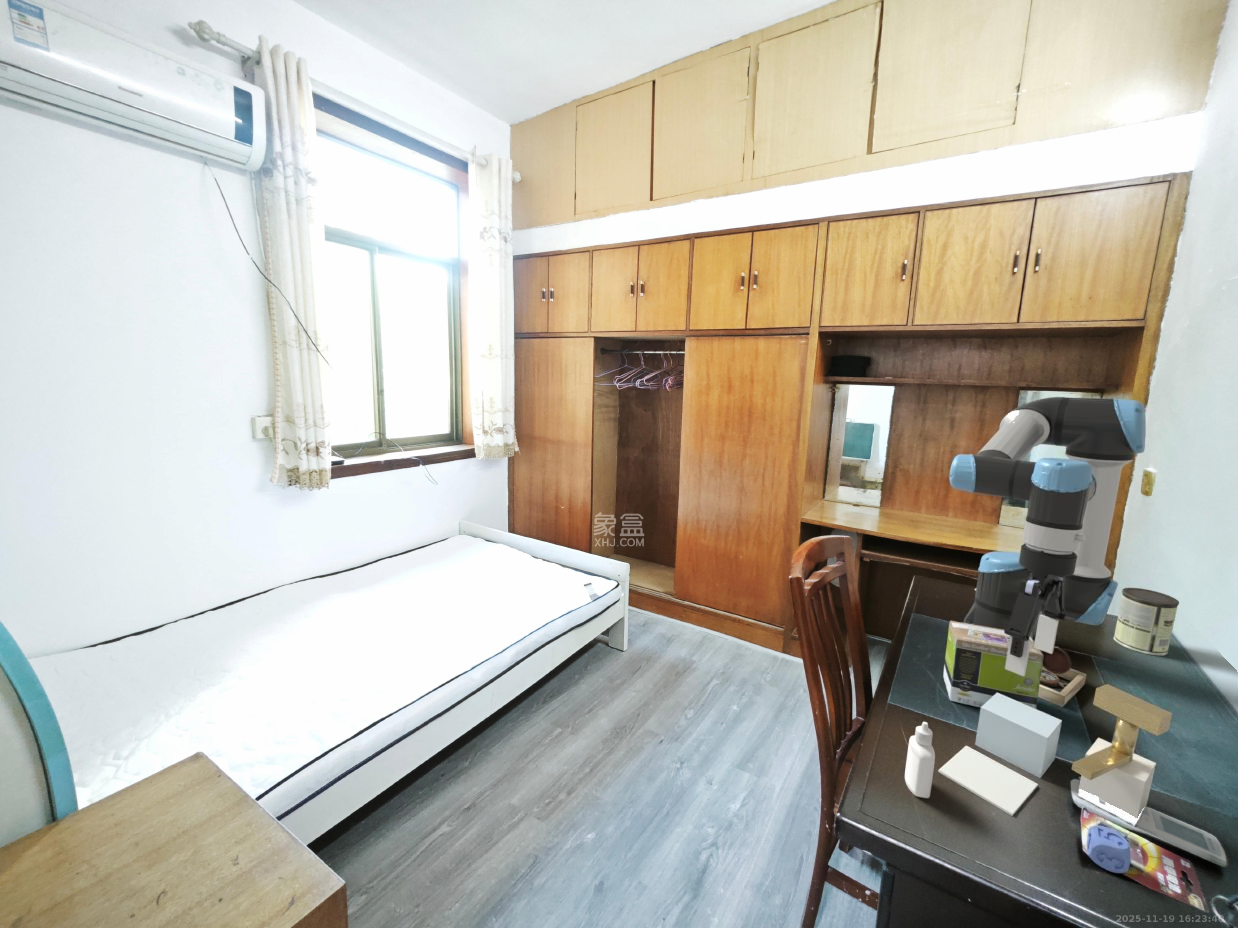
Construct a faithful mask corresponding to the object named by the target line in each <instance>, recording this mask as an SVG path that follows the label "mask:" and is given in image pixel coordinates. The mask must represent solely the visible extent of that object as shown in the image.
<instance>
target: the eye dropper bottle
mask: <svg viewBox="0 0 1238 928" xmlns="http://www.w3.org/2000/svg"><path fill="white" fill-rule="evenodd" d="M933 734H934V733H933V731H932V730H931V728H929V724H928V722H926V721H923V722H922V723H921V725H918V726H916V727H915V732H914V735H911V736H910V737H909V739H908V748H907V754H906V761H905V771H904V781H905V784H906V786H907V788H908V790H909V791H910V792H911V793H912V794H913V795H914V796H915V797H918V798H923V799H930V797H931V791H932V784H933V776H934V775H933V774H934V768H935V762H936V761H935V760H936V754H935V749H934V747H933V745H932V742H933Z"/></svg>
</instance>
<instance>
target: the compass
mask: <svg viewBox="0 0 1238 928" xmlns="http://www.w3.org/2000/svg"><path fill="white" fill-rule="evenodd" d="M1040 651H1041V653H1042V654H1043V655H1044V656H1043V665H1042V666H1043V667H1044V668H1045V669H1046V670H1043V669H1042V672H1041V679H1040V685H1043V686H1045V687H1049V688H1050V687H1053V688H1056V687H1057V688H1058V687H1060V686H1061V687H1062V688H1063V689H1064V688H1065V687H1066V686H1067V685H1068V684H1067V683H1063V682H1062V679H1060V678H1059V676H1057V675H1055V674H1062V673H1066V672H1067V671H1069V670H1070V668H1071V669H1072V665H1073V663H1072V659H1071V657H1070V655H1069V654H1068V652H1067V651H1065V649H1063V648H1061V647H1059V646H1055V645H1054V650H1053V653H1052V654H1050V653H1048V652H1045V651H1042V650H1040ZM1047 670H1048V671H1047ZM1064 685H1066V686H1064Z"/></svg>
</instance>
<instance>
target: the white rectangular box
mask: <svg viewBox="0 0 1238 928" xmlns="http://www.w3.org/2000/svg"><path fill="white" fill-rule="evenodd" d="M1111 745H1112V742H1109V741H1107V740H1105V739H1103V738H1100V737H1098V738H1097V739H1096V740H1095V742H1094V743H1093V744H1092V745H1091V746H1090V748H1089V749H1088V750H1087V751H1086V753H1085V755H1084V757H1087V756H1089V755H1091V754H1093V753H1096V752H1098V751H1100V750H1102V749H1105V748H1107V747H1109V746H1111ZM1156 765H1157V763H1156V762H1155V761H1152V760H1150V759H1148V758H1145V757H1143V756H1141V755H1139V754H1137V753H1134V755H1133V759H1132V762H1128V763H1126V764H1124V765H1122V766H1120V767H1118V768H1116V769H1113V770H1111V771H1109V772H1107V773H1105V774H1103V775H1101V776H1099V777H1096V778H1094V779H1092V780H1089V779H1087V778H1085V777H1084V776H1082V775H1081V776H1080V780H1079V781H1080V782H1079V786H1078V790H1079V789H1082V790H1084V791H1086V792H1088V793H1091V794H1093V795H1096V796H1098V797H1100V798H1101V799H1102V800H1104V801H1105V802H1107V803H1109V804H1110V805H1113V806H1115V807H1117V808H1119V809H1122V810H1123V811H1125V812H1127V813H1129V814H1130V815H1132V816H1134V817H1135V818H1138V816H1139V814H1140V813H1141V811H1142V809H1143V808H1144V807H1146V808H1147V806H1148V800H1149V795H1150V792H1151V787H1152V782H1153V778H1154V775H1155V774H1154V773H1155V770H1156V769H1155V768H1156Z"/></svg>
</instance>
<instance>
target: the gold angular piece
mask: <svg viewBox="0 0 1238 928" xmlns="http://www.w3.org/2000/svg"><path fill="white" fill-rule="evenodd" d="M1092 705H1093V706H1095V707H1097V708H1100V709H1101V710H1104V711H1106V712H1107V713H1110V714H1111V715H1113V716H1116V722H1115V725H1114V726H1115V727H1114V731H1113V736H1112V740H1111V743H1112V745H1111V746H1109V747H1107V748H1105V749H1102V750H1100V751H1098V752H1096V753H1093V754H1091V755H1089V756H1087V757H1085V756H1084V757H1082V758H1080V759H1078V760H1075V761H1073V762H1072V766H1071V770H1072V771H1074V772H1075V773H1077V774H1078V775H1082V776H1084V777H1085V778H1087V779H1089V780H1092V779H1094V778H1096V777H1099V776H1101V775H1103V774H1105V773H1107V772H1109V771H1111V770H1113V769H1116V768H1118V767H1120V766H1122V765H1124V764H1126V763H1128V762H1132V759H1133V755H1134V754H1135V750H1136V745H1137V740H1138V737H1139V736H1138V735H1139V730H1140V729H1143V730H1144V731H1146V732H1149V733H1151V734H1152V735H1155V736H1157V737H1158V736H1160V735H1163V734H1165V733H1167V732H1169V730H1170V727H1171V726H1170V725H1171V721H1172V716H1173V712H1170V711H1168V710H1166V709H1163V708H1162V707H1159V706H1157V705H1155V704H1153V703H1150V702H1148V701H1145V700H1143V698H1140V697H1137V696H1135V695H1132V694H1130V693H1129V692H1126V691H1124V690H1121V689H1120V688H1117V687H1115V686H1112V685H1110V684H1108V683H1107V684H1104V685H1101V686H1099V687H1096V688H1095V693H1094V698H1093V703H1092Z"/></svg>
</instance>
